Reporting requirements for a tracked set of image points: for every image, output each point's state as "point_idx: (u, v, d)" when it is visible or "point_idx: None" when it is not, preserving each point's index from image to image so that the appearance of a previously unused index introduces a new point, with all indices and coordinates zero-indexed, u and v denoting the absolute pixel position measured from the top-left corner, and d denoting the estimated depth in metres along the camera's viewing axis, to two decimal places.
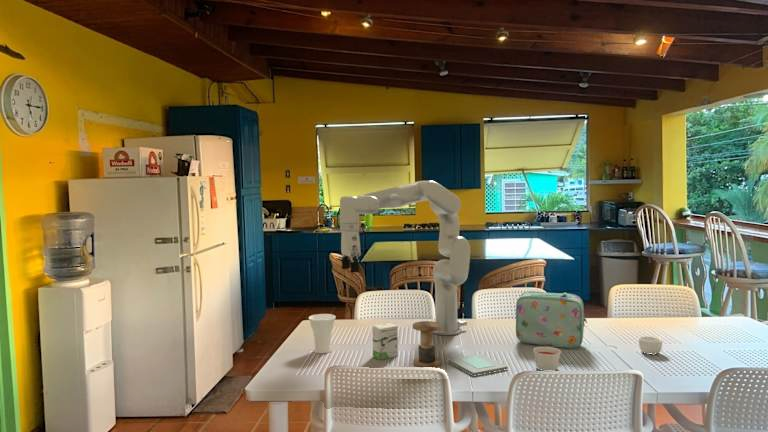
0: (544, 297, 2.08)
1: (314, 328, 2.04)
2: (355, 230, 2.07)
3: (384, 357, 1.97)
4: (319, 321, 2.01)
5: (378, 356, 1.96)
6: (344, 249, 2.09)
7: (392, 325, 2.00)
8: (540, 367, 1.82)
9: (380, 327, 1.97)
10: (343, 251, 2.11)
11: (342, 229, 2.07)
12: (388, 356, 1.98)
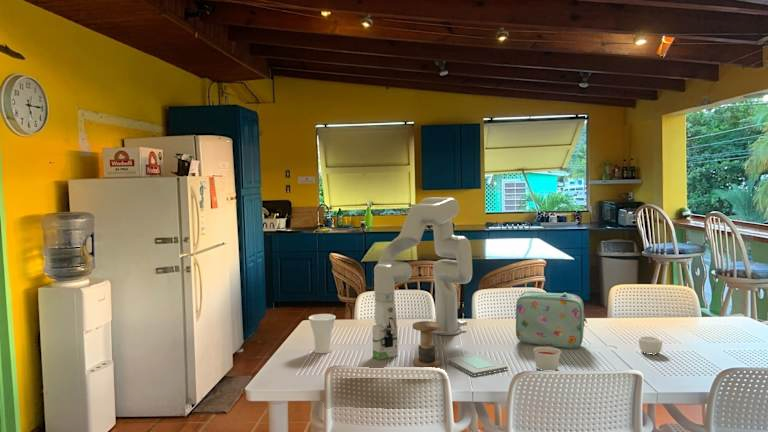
0: (544, 297, 2.08)
1: (314, 328, 2.04)
2: (391, 301, 1.96)
3: (384, 357, 1.97)
4: (319, 321, 2.01)
5: (378, 356, 1.96)
6: (379, 320, 1.98)
7: None
8: (540, 367, 1.82)
9: (380, 327, 1.97)
10: (377, 322, 2.00)
11: (377, 300, 1.96)
12: (388, 356, 1.98)
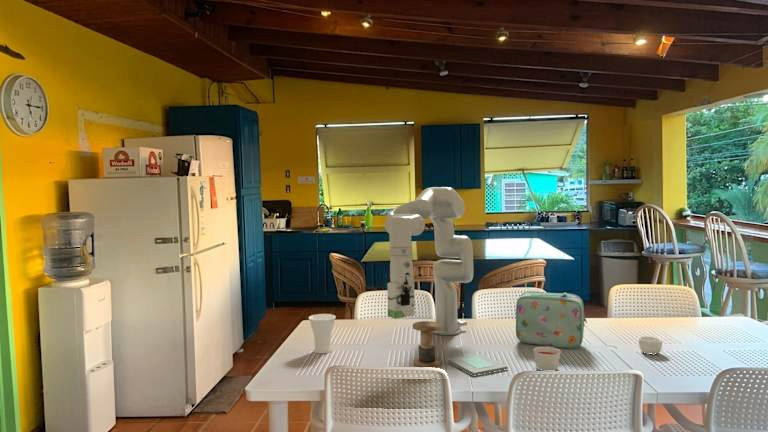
0: (544, 297, 2.08)
1: (314, 328, 2.04)
2: (407, 255, 1.81)
3: (400, 316, 1.82)
4: (319, 321, 2.01)
5: (393, 315, 1.81)
6: (394, 277, 1.83)
7: None
8: (540, 367, 1.82)
9: (395, 284, 1.82)
10: (393, 279, 1.85)
11: (393, 254, 1.81)
12: (404, 315, 1.83)
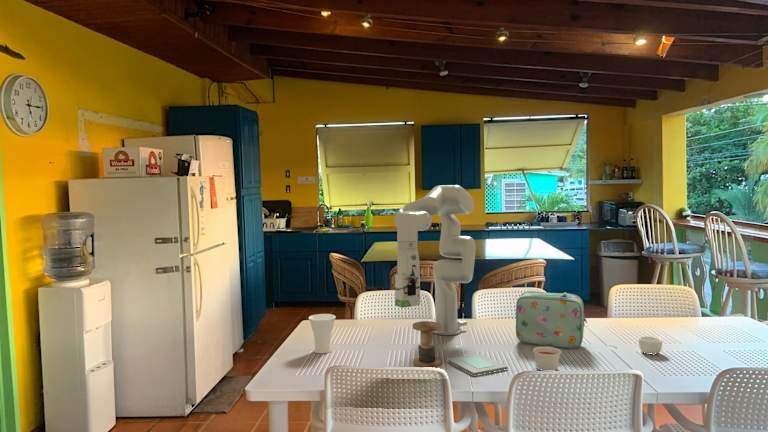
0: (544, 297, 2.08)
1: (314, 328, 2.04)
2: (414, 248, 1.94)
3: (407, 305, 1.95)
4: (319, 321, 2.01)
5: (401, 304, 1.94)
6: (402, 269, 1.96)
7: None
8: (540, 367, 1.82)
9: (403, 275, 1.95)
10: (400, 271, 1.98)
11: (400, 247, 1.94)
12: (411, 305, 1.96)
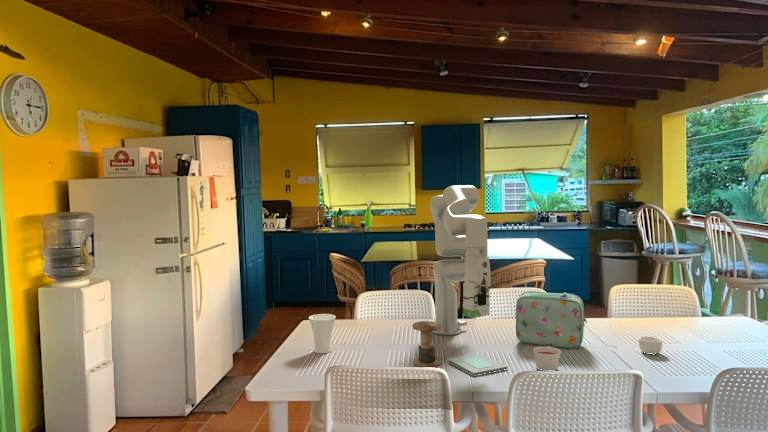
0: (544, 297, 2.08)
1: (314, 328, 2.04)
2: (485, 255, 1.82)
3: (477, 315, 1.83)
4: (319, 321, 2.01)
5: (470, 314, 1.83)
6: (471, 277, 1.85)
7: None
8: (540, 367, 1.82)
9: (472, 283, 1.83)
10: (468, 279, 1.86)
11: (470, 254, 1.83)
12: (480, 315, 1.84)
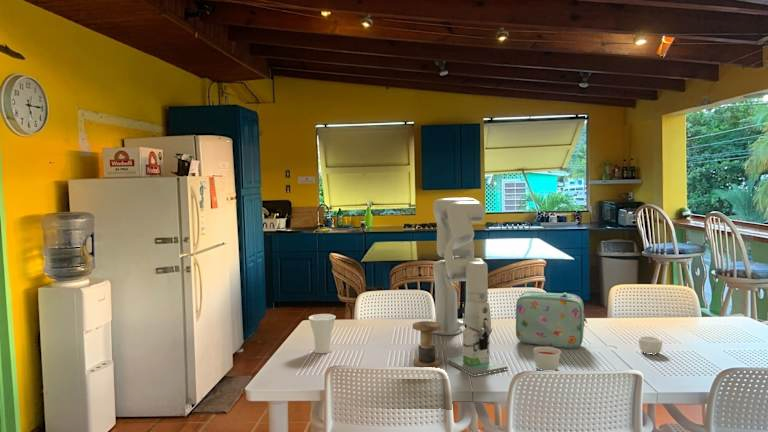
0: (544, 297, 2.08)
1: (314, 328, 2.04)
2: (485, 301, 1.83)
3: (476, 363, 1.84)
4: (319, 321, 2.01)
5: (470, 362, 1.84)
6: (471, 321, 1.86)
7: None
8: (540, 367, 1.82)
9: (472, 331, 1.85)
10: (469, 323, 1.87)
11: (470, 299, 1.83)
12: (480, 362, 1.85)
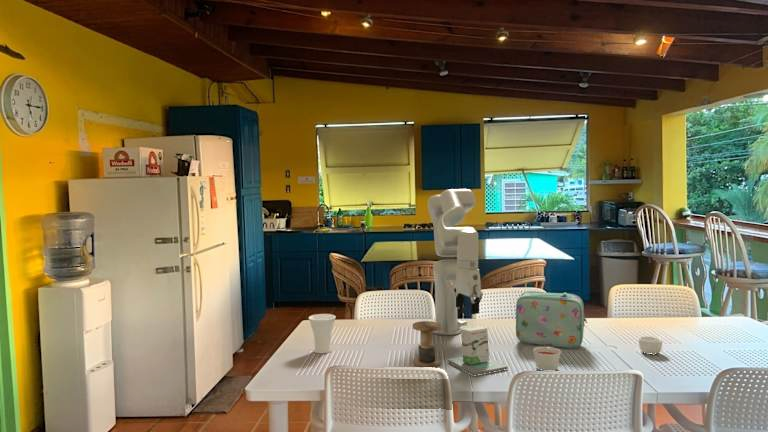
0: (544, 297, 2.08)
1: (314, 328, 2.04)
2: (475, 268, 1.90)
3: (476, 362, 1.84)
4: (319, 321, 2.01)
5: (469, 361, 1.84)
6: (462, 288, 1.92)
7: (481, 327, 1.88)
8: (540, 367, 1.82)
9: (470, 330, 1.86)
10: (459, 290, 1.94)
11: (461, 267, 1.90)
12: (480, 361, 1.85)
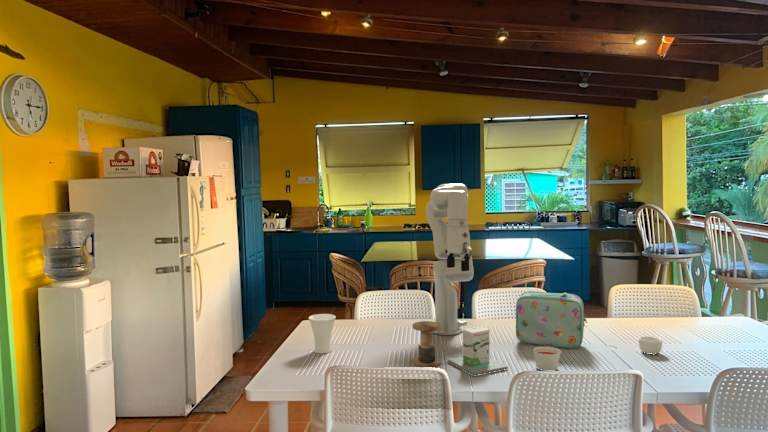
0: (544, 297, 2.08)
1: (314, 328, 2.04)
2: (465, 226, 1.96)
3: (476, 363, 1.84)
4: (319, 321, 2.01)
5: (470, 362, 1.84)
6: (452, 247, 1.99)
7: (483, 329, 1.87)
8: (540, 367, 1.82)
9: (472, 331, 1.85)
10: (450, 249, 2.00)
11: (451, 225, 1.97)
12: (480, 362, 1.85)
